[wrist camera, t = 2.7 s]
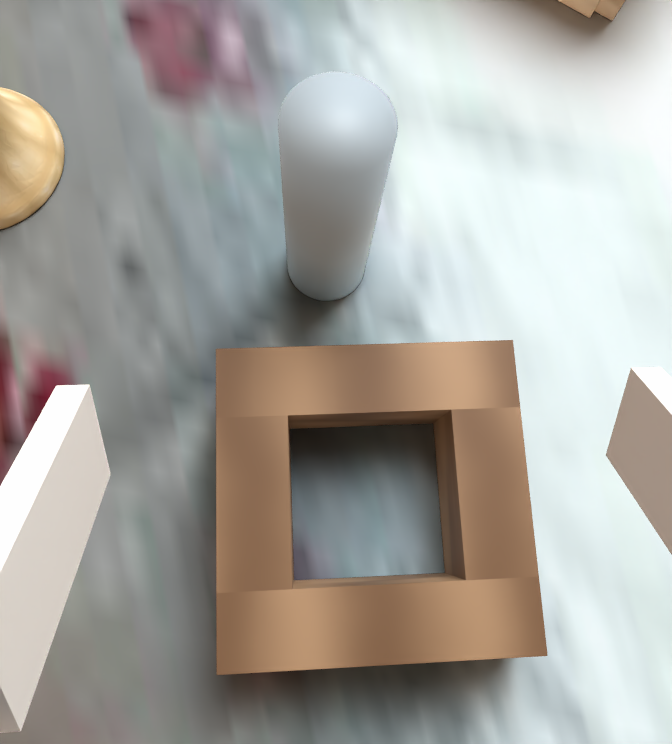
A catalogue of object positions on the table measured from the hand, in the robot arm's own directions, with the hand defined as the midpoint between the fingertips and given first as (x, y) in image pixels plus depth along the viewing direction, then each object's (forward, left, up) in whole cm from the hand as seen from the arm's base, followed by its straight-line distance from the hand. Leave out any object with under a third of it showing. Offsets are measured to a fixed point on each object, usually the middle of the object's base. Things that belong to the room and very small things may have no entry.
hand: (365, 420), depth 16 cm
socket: (-2, 0, -15) cm, 15 cm away
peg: (+6, -9, -15) cm, 18 cm away
